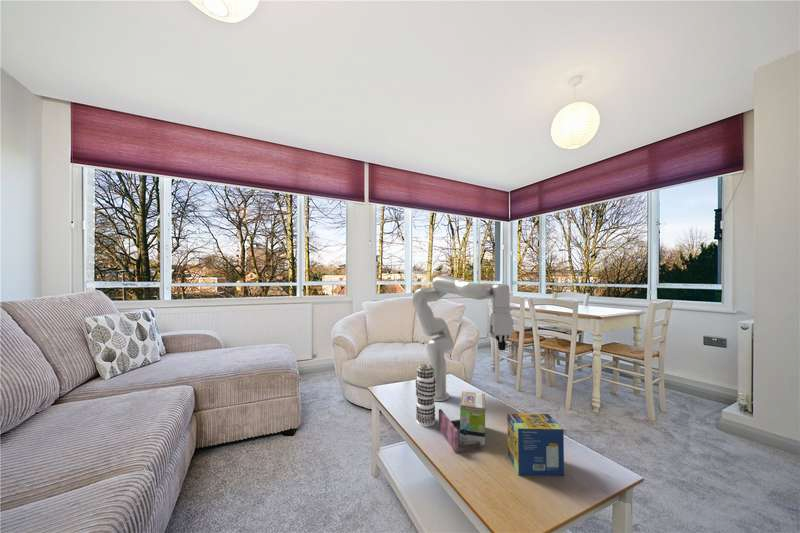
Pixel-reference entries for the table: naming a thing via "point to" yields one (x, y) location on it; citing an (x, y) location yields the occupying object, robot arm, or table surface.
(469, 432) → the tea box
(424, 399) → the decorative candle
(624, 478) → the table surface
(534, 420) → the protein box
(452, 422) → the stand
